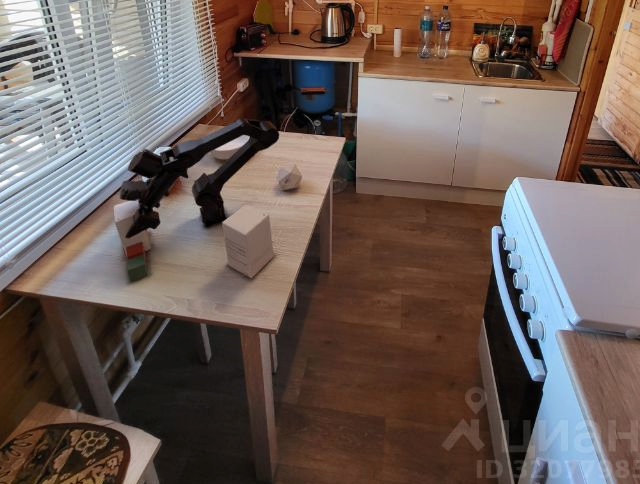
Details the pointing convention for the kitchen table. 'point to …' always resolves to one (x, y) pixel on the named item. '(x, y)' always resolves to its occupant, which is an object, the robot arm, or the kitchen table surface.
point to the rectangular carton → (248, 240)
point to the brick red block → (135, 250)
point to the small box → (129, 224)
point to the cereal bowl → (229, 148)
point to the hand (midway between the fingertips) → (126, 227)
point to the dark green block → (137, 267)
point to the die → (289, 177)
